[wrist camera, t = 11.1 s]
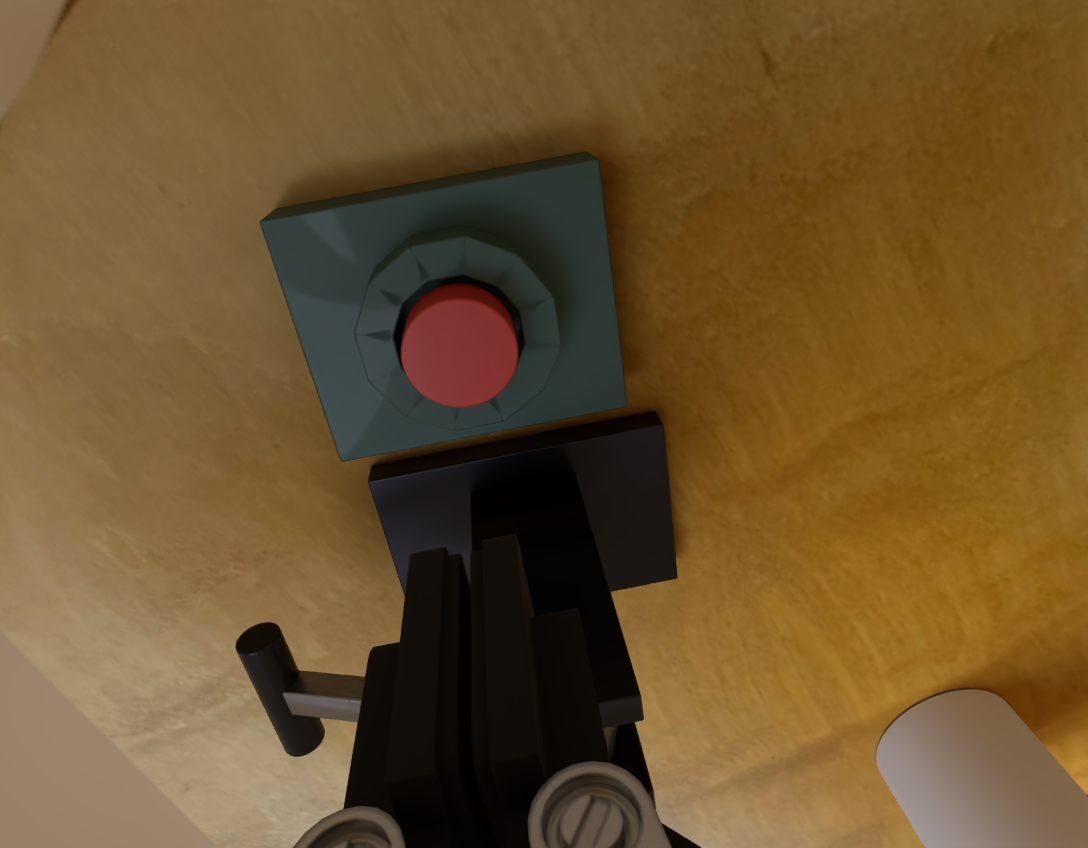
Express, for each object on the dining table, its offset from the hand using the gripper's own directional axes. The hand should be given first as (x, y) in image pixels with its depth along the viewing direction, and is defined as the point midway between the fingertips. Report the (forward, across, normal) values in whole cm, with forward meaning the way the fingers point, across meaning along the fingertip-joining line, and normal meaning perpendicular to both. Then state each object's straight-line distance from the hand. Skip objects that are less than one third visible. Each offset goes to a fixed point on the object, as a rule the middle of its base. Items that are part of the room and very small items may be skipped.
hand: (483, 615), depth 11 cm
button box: (+17, +1, 0) cm, 17 cm away
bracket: (+17, 0, +10) cm, 20 cm away
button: (+13, +1, 0) cm, 14 cm away
